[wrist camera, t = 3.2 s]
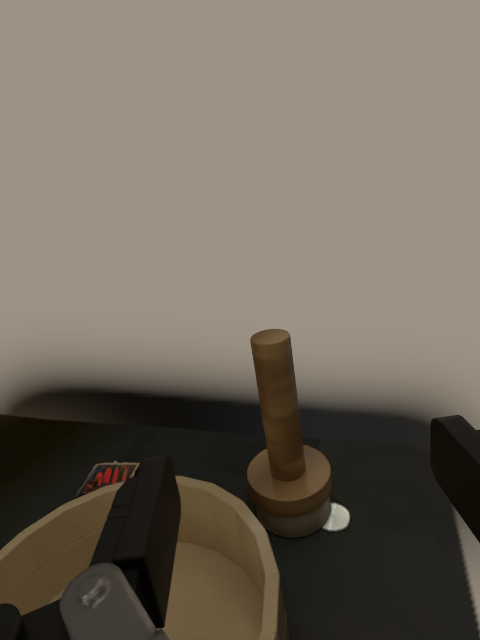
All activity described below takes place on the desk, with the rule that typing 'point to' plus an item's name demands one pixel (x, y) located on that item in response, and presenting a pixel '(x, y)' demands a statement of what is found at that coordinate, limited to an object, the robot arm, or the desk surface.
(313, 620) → the desk surface
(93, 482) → the small printed card
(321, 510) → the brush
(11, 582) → the bowl
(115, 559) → the robot arm
